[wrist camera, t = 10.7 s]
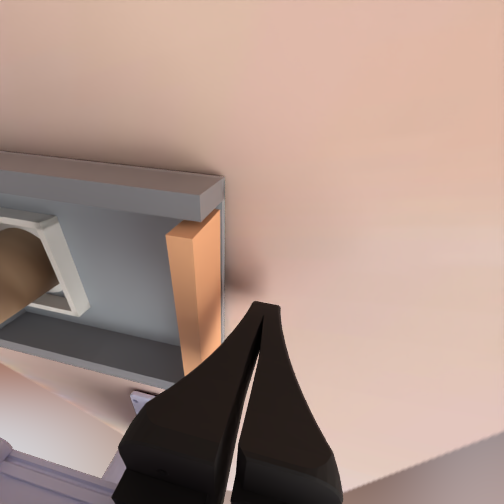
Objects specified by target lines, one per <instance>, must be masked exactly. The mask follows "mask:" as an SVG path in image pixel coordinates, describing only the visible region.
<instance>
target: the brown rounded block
mask: <svg viewBox="0 0 504 504" xmlns="http://www.w3.org/2000/svg"><path fill="white" fill-rule="evenodd" d="M58 284H59V281H58V279H57V276H56V274H55V272H54V269H53V267H52V265H51V262H50V260H49V258H48V256H47V253H46V251H45V249H44V246H43V244H42V242H41V239H40V238H38V237H37V236H35V235H34V234H32V233H30V232H28V231H26V230H23V229H19V228H6V229H4V230H1V231H0V324H1V323H3V322H4V321H6V320H7V319H8V318H10V317H11V316H13V315H14V314H16V313H17V312H19V311H20V310H22V309H23V308H25V307H26V306H27V305H29V304H30V303H32V302H33V301H35V300H36V299H38V298H39V297H41V296H42V295H44V294H45V293H46V292H48V291H49V290H51V289H52V288H54V287H55V286H57V285H58Z"/></svg>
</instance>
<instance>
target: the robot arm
mask: <svg viewBox="0 0 504 504" xmlns="http://www.w3.org/2000/svg"><path fill="white" fill-rule="evenodd" d="M280 309H281V308H280V306H279V305H273V304H268V303H263V302H258V301H254V302H253V303H252V305H251V307H250V308H249V310H248V312H247V313H246V315H245V316H244V317H243V319H242V320H241V321H240V323H239V324H238V325H237V327H236V328H235V329H234V330H233V332H232V333H231V334H230V335H229V336H228V337H227V338H226V340H225V341H224V342H223V343H222V344H221V345H220V346H219V347H218V348H217V349H216V350H215V351H214V352H213V353H212V354H211V355H210V356H209V357H208V358H207V359H205V360H204V361H203V362H202V363H201V364H200V365H199V366H197V367H196V368H195V369H194V370H192V371H191V372H190V373H189V374H187V375H186V376H185V377H183V378H182V379H181V380H179V381H178V382H177V383H175V384H174V385H172V386H171V387H170V388H168V389H167V390H165V391H164V392H162V393H160V394H159V395H157V396H153V395H149V394H145V393H141V392H138V391H133V392H132V393H131V394H130V398H131V401H132V403H133V406H134V409H135V412H136V417H135V418H134V420H133V421H132V423H131V424H130V426H129V428H128V429H127V431H126V433H125V435H124V436H123V438H122V440H121V442H120V444H119V446H118V451H117V452H116V454H115V456H114V458H113V459H112V461H111V463H110V464H109V466H108V468H107V470H106V471H105V473H104V475H103V477H102V478H98V477H95V476H92V475H88V474H86V473H82V472H80V471H77V470H73V469H71V468H68V467H65V466H62V465H59V464H55V463H52V462H49V461H46V460H43V459H40V458H37V457H34V456H31V455H28V454H25V453H22V452H19V451H16V450H13V449H12V446H11V445H10V444H9V443H8V442H6V441H5V440H4V439H2V438H0V504H223V502H224V497H225V492H226V487H227V482H228V477H229V472H230V467H231V463H232V458H233V453H234V448H235V443H236V438H237V434H238V429H239V424H240V419H241V415H242V410H243V405H244V401H245V397H246V393H247V390H248V387H249V383H250V380H251V377H252V373H253V370H254V367H255V364H256V360H257V357H258V354H259V359H258V364H257V368H256V373H255V377H254V381H253V386H252V390H251V394H250V399H249V403H248V407H247V411H246V415H245V419H244V423H243V427H242V431H241V435H240V439H239V443H238V454H237V467H236V476H235V481H234V486H233V490H232V495H231V504H342V502H343V492H342V486H341V481H340V476H339V472H338V468H337V464H336V461H335V457H334V454H333V452H332V450H331V448H330V446H329V445H328V443H327V441H326V439H325V438H324V436H323V434H322V432H321V430H320V428H319V427H318V425H317V423H316V421H315V419H314V417H313V415H312V413H311V411H310V409H309V406H308V404H307V402H306V400H305V398H304V396H303V393H302V391H301V389H300V386H299V384H298V381H297V379H296V376H295V373H294V371H293V368H292V365H291V362H290V359H289V355H288V352H287V348H286V344H285V340H284V335H283V331H282V325H281V315H280Z"/></svg>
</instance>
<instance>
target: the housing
mask: <svg viewBox="0 0 504 504" xmlns="http://www.w3.org/2000/svg"><path fill="white" fill-rule="evenodd" d="M214 209H220V272H221V344H222V343H223V342H224V275H225V177H224V176H215V175H207V174H198V173H189V172H180V171H172V170H163V169H154V168H146V167H137V166H128V165H120V164H111V163H102V162H93V161H85V160H76V159H67V158H59V157H50V156H41V155H33V154H24V153H15V152H6V151H0V231H1V230H4V229H6V228H19V229H23V230H26V231H28V232H30V233H32V234H34V235H35V236H37V237H38V238H40V239H41V242H42V244H43V246H44V249H45V251H46V253H47V256H48V258H49V260H50V262H51V265H52V267H53V269H54V272H55V274H56V276H57V279H58V281H59V284H58V285H57V286H55V287H54V288H52V289H51V290H49V291H48V292H46V293H45V294H44V295H42V296H41V297H39V298H38V299H36V300H35V301H33V302H32V303H30V304H29V305H27V306H26V307H25V308H23V309H22V310H20V311H19V312H17V313H16V314H14V315H13V316H11V317H10V318H8V319H7V320H6V321H4V322H3V323H1V324H0V347H3V348H7V349H11V350H15V351H18V352H22V353H26V354H30V355H34V356H38V357H42V358H45V359H49V360H53V361H57V362H61V363H65V364H69V365H73V366H76V367H80V368H84V369H88V370H92V371H96V372H100V373H103V374H107V375H111V376H115V377H119V378H123V379H127V380H131V381H134V382H138V383H142V384H146V385H150V386H154V387H158V388H161V389H165V390H167V389H168V388H170V387H171V386H172V385H174V384H175V383H177V382H178V381H179V380H181V379H182V378H183V377H185V375H184V368H183V360H182V353H181V346H180V338H179V331H178V324H177V316H176V309H175V302H174V294H173V287H172V279H171V272H170V265H169V257H168V250H167V243H166V234H167V233H168V232H170V231H171V230H172V229H173V228H174V227H175V226H177V225H178V224H179V223H180V222H181V221H183V220H190V221H196V222H202V221H203V220H204V219H205V218H206V217H207V216H208V215H209V214H210V213H211V212H212V211H213V210H214Z"/></svg>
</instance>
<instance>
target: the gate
mask: <svg viewBox="0 0 504 504" xmlns="http://www.w3.org/2000/svg"><path fill="white" fill-rule="evenodd" d="M166 243H167V250H168V257H169V265H170V272H171V279H172V287H173V294H174V302H175V309H176V316H177V324H178V331H179V338H180V346H181V353H182V360H183V368H184V375H185V376H186V375H187V374H189V373H190V372H191V371H192V370H194V369H195V368H196V367H197V366H199V365H200V364H201V363H202V362H203V361H204V360H205V359H207V358H208V357H209V356H210V355H211V354H212V353H213V352H214V351H215V350H216V349H217V348H218V347H219V346H220V345H221V272H220V209H214V210H213V211H212V212H211V213H210V214H209V215H208V216H207V217H206V218H205V219H204V220H203V221H202V222H196V221H190V220H183V221H181V222H180V223H179V224H178V225H177V226H175V227H174V228H173V229H172V230H171V231H170V232H168V233H167V234H166Z"/></svg>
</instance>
